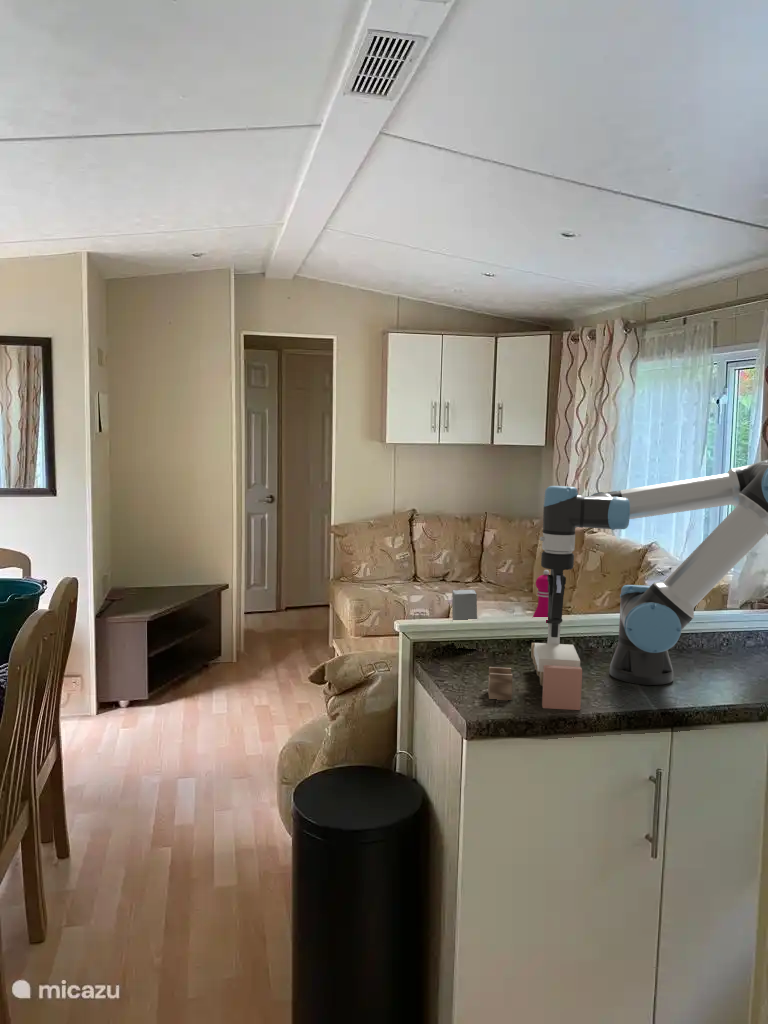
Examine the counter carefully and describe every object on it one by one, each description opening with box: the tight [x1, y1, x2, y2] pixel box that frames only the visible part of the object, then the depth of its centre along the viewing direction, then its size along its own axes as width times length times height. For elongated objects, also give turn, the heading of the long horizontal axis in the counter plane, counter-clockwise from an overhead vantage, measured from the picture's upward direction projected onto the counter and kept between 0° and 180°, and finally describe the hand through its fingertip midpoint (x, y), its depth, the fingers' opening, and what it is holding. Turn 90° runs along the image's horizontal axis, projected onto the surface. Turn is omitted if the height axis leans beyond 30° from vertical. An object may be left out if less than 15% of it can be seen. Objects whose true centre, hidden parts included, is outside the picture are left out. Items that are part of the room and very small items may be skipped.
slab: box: [534, 642, 581, 672], centre depth 186 cm, size 9×13×3 cm
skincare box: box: [451, 589, 478, 621], centre depth 228 cm, size 8×7×16 cm
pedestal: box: [487, 666, 514, 701], centre depth 184 cm, size 5×6×6 cm
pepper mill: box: [532, 569, 550, 618], centre depth 243 cm, size 7×7×20 cm
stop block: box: [541, 665, 583, 711], centre depth 176 cm, size 8×2×9 cm, turn 85°
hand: (553, 649), depth 193 cm, fingers closed
